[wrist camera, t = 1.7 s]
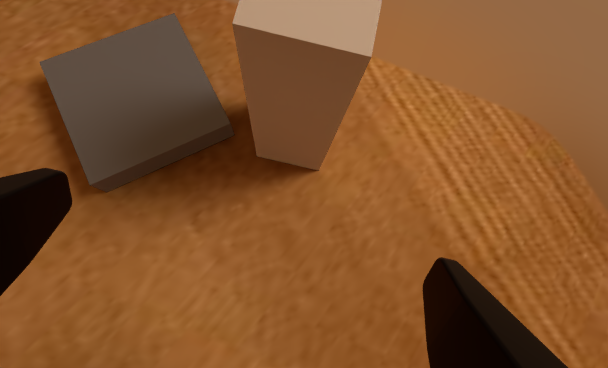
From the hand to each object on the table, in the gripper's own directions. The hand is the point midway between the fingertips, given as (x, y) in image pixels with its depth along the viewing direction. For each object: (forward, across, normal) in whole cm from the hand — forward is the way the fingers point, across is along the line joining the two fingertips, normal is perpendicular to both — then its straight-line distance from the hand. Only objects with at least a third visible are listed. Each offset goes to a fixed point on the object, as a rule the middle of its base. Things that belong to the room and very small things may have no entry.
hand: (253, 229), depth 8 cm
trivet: (+15, +10, +4) cm, 19 cm away
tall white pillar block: (+16, 0, +4) cm, 16 cm away
